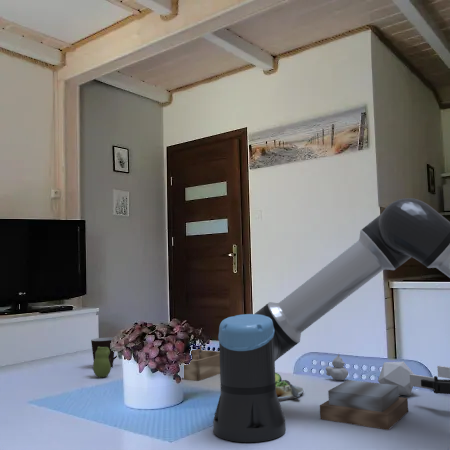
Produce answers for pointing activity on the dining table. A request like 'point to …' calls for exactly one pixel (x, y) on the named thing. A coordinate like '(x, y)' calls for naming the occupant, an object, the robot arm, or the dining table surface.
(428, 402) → the dining table surface
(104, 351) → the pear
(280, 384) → the salad plate
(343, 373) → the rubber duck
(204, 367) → the figurine cradle
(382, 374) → the die
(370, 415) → the plinth
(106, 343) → the coffee mug
